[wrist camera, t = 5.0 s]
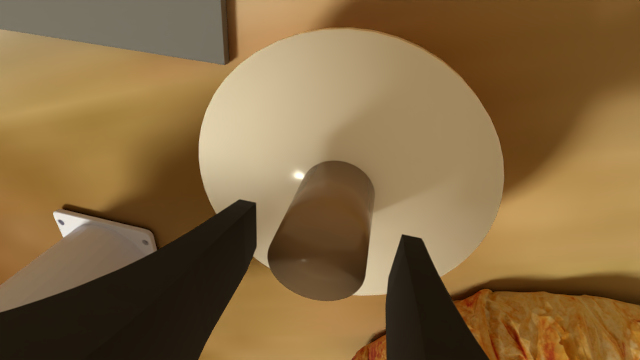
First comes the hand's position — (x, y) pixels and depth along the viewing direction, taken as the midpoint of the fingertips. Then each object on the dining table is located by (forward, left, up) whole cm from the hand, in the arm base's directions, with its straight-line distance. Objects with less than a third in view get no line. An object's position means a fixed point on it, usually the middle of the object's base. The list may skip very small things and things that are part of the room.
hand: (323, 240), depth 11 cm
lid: (0, 0, -3) cm, 3 cm away
